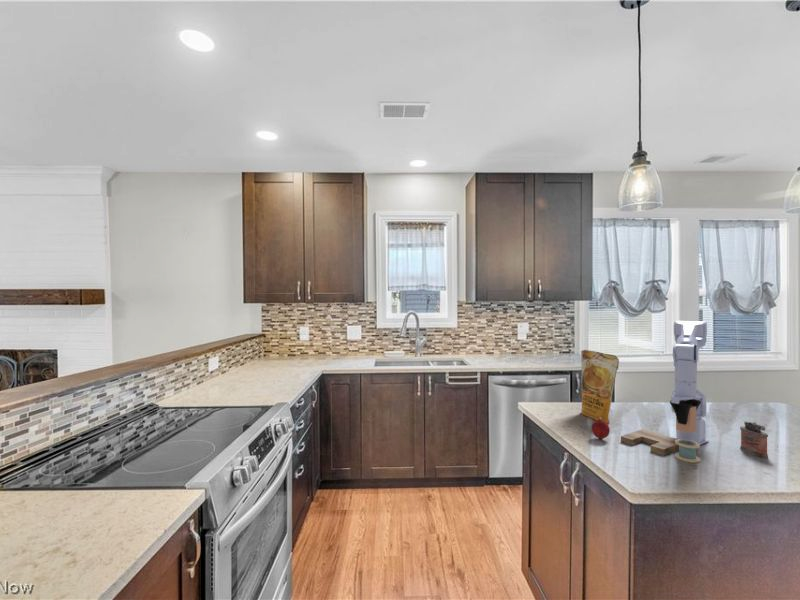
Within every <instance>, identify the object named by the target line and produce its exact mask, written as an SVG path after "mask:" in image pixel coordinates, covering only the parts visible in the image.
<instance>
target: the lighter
mask: <svg viewBox="0 0 800 600" xmlns="http://www.w3.org/2000/svg"><path fill="white" fill-rule="evenodd" d="M743 422H744V425H742V426H740V428H739V430H740V446H739V448H740V450H741V451H743V452H745V453H747V454H749V455H752V456H754V455H755V457H757V456H758V458H760V457H761V458H760V459H768V458H769V455H768V437H769V433H766V432H764V431H766V427H765V426H764V425H761V424H759V423H757V422H755V421H753V422H752V421H748V420H746V421H743Z"/></svg>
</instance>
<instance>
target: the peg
mask: <svg viewBox="0 0 800 600" xmlns="http://www.w3.org/2000/svg"><path fill="white" fill-rule="evenodd" d="M676 430H680V431H684V432H688V433H692V432H695V431H696V406H691V408H690V410H689V413H688V419H687V423H686V425H684V424H680V423H678V421H677V417H676V416H675V431H676Z"/></svg>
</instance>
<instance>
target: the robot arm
mask: <svg viewBox="0 0 800 600" xmlns="http://www.w3.org/2000/svg"><path fill="white" fill-rule="evenodd" d="M673 335H674V341H675V344H674V345H673V346H672V359H673V366H674V389H673V392H672V396H670V400H669V403H670V407H671V409H670V410H671V412H672V413H673V414H675V418H676V417H677V421H678V423H680V424H684V425H686V423H687V419H688V413H689V410H690V408H691V406H696V431H695V432H692V433H688V432H684V431H680V430H676V429H675V431H676V432H675V434H676V435H675V436H672V437H673V438H676V439H686V440H691V441H694V442H697V443H699V444H700V446H701V445H704V444H706V443H707V442H710V440H709V439H707V434H706V433H707V431H706V428H707V425H706V424H707V423H706V420H705V419H704V418H705V417H707V398H706V395H705V394H704V393H703V392H701V391H700V390H699V389H697V387H698V386H697V385H698V384H697V383H698V382H697V381H698V380H697V378H698V377H697V375H698V361H699V351H700V348H702V347H705V346H706V343H707V335H708V326H707V322H706V321H705V320H703V321H697V320H691V321H690V320H675V321H674V322H673Z"/></svg>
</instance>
